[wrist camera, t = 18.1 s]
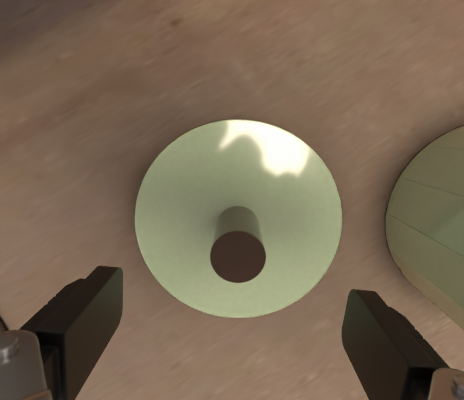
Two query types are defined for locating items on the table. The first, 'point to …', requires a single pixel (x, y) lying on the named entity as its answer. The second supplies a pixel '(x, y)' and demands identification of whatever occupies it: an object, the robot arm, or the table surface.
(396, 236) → the jar
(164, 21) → the table surface
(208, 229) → the jar lid
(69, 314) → the robot arm
